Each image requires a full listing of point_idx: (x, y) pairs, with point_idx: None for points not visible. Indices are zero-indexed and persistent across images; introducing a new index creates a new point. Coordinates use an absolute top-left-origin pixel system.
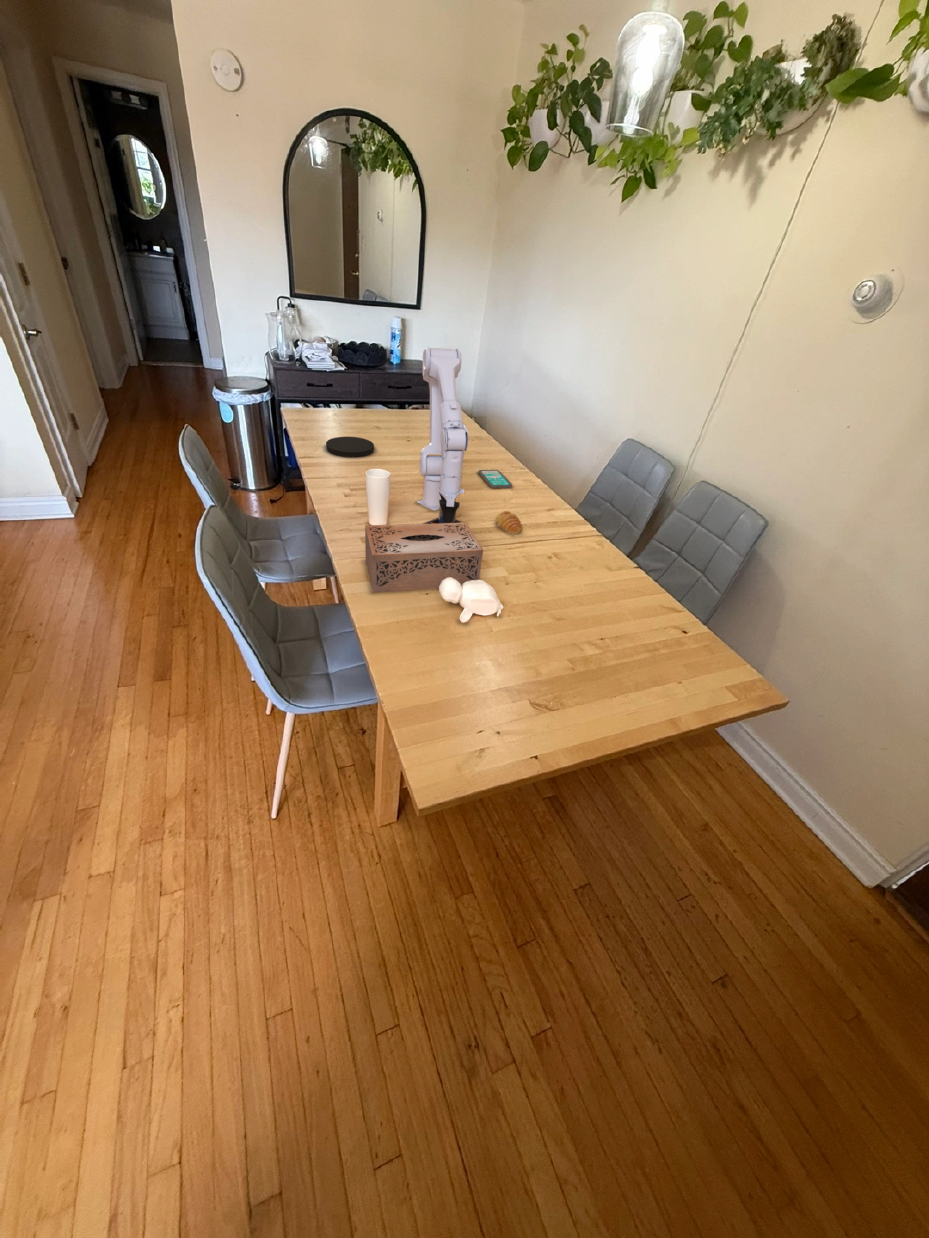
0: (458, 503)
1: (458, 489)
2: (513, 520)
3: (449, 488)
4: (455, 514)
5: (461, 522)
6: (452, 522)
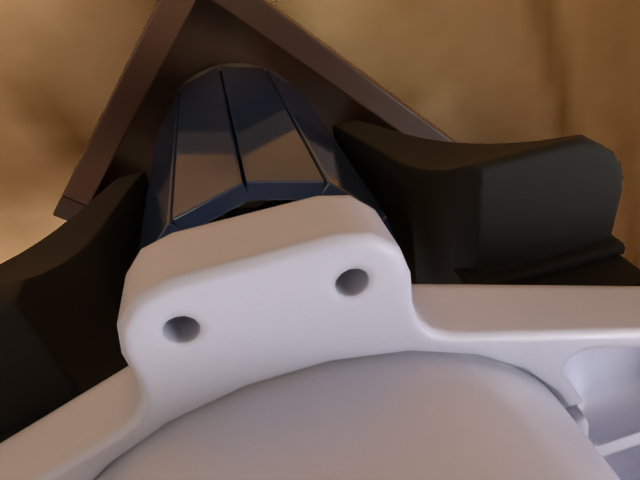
0: (548, 177)
1: (563, 453)
2: None
3: None
4: (301, 128)
5: (169, 14)
6: (315, 117)
